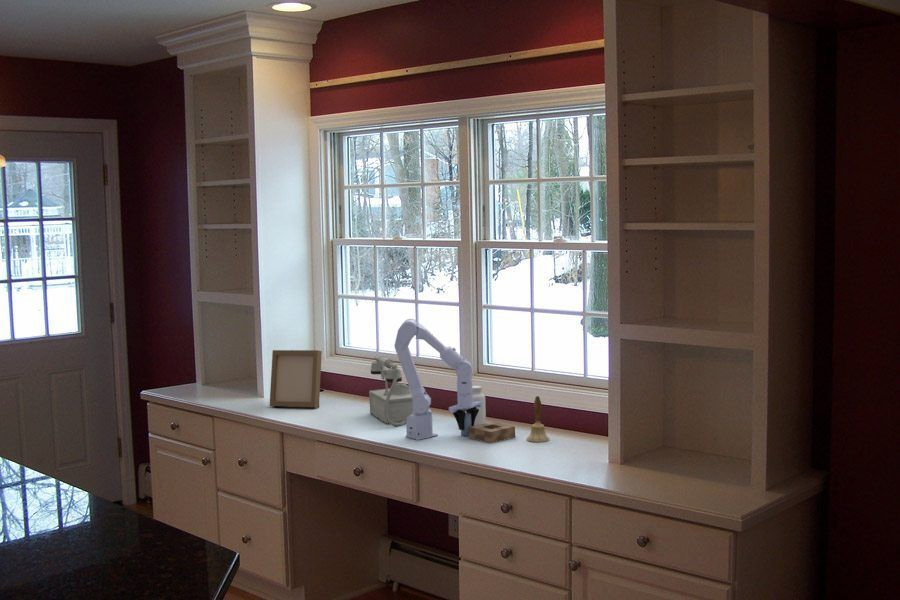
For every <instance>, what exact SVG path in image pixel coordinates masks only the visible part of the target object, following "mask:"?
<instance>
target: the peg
mask: <svg viewBox="0 0 900 600" xmlns="http://www.w3.org/2000/svg"><path fill="white" fill-rule="evenodd" d="M469 427H472V425H471V413H466V414H465V419H464V430H460V436H461V437H469Z"/></svg>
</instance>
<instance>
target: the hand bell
mask: <svg viewBox="0 0 900 600" xmlns="http://www.w3.org/2000/svg"><path fill="white" fill-rule="evenodd" d="M533 409H534V412H535V423H533V424H532V425H531V430H530V434H529V435H528V436H527V438H526V441H527V440H528V442H530V441H531V443H545V442H544V441H546V442H549V441H550V440H549V439H550V437H549V436H548V435H547V433H546V429H545V425H544V424H542V423H541V410H542V401H541V399H540V396H538V395H536V396H535V399H534V402H533ZM548 440H549V441H548Z"/></svg>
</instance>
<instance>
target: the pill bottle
mask: <svg viewBox="0 0 900 600" xmlns="http://www.w3.org/2000/svg"><path fill="white" fill-rule="evenodd" d="M482 388H483V387H482V386H481V385H472V390H473V402H477V401H480V402H482V407H476V408H477V409H479V412H478V414H477V416H476V418H475V422H474V426H476V425H480V424H485V423H487V421H486V420H487V418H486V417H487V416H486V415H487V413H486V409H487V408H486V395H485V394H484V393H483V392H482V391H483V389H482ZM464 413H466V410H464Z"/></svg>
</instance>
